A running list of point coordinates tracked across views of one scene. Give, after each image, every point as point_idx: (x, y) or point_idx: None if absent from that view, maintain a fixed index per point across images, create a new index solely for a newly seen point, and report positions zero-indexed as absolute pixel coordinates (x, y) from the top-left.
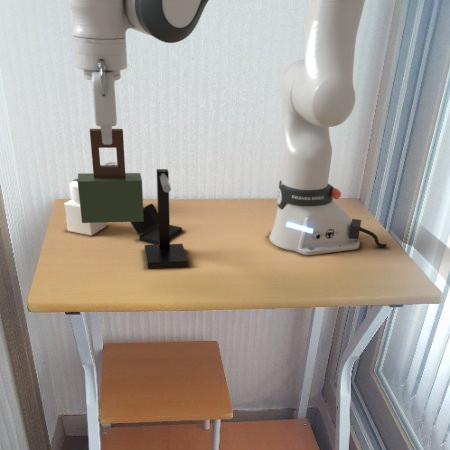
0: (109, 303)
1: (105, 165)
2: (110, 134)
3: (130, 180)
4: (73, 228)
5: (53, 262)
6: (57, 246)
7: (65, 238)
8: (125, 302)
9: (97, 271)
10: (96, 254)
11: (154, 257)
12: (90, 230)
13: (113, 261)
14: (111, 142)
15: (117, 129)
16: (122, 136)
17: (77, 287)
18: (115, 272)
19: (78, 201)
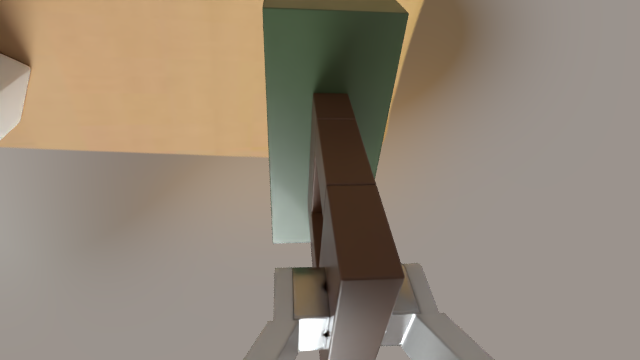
0: (407, 40)
1: (317, 196)
2: (436, 315)
3: (391, 73)
4: (18, 112)
5: (206, 141)
6: (121, 137)
7: (68, 124)
8: (414, 5)
9: (251, 58)
10: (152, 57)
11: None
12: (23, 74)
13: (192, 17)
14: (422, 270)
15: (364, 303)
16: (392, 243)
17: None
18: (258, 17)
19: None
